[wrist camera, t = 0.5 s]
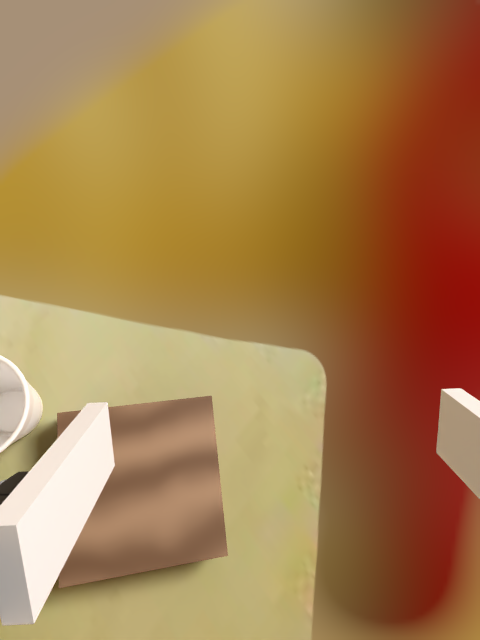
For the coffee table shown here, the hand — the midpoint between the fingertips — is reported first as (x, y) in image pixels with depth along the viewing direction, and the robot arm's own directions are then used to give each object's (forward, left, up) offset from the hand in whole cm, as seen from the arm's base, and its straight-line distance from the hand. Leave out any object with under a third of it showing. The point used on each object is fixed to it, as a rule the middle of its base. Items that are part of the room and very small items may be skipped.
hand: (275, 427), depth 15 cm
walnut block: (-5, +7, -34) cm, 35 cm away
